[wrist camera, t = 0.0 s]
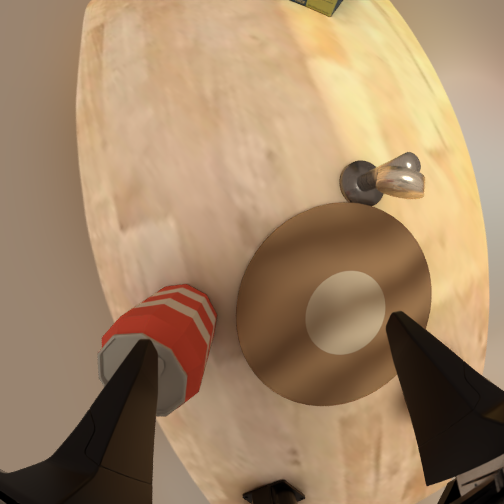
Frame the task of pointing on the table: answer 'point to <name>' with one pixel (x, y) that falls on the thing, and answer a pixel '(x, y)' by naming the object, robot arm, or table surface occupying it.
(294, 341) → the lazy susan
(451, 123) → the table surface
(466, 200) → the table surface
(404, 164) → the metal door stop
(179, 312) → the beverage can
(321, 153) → the table surface
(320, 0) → the protein box
